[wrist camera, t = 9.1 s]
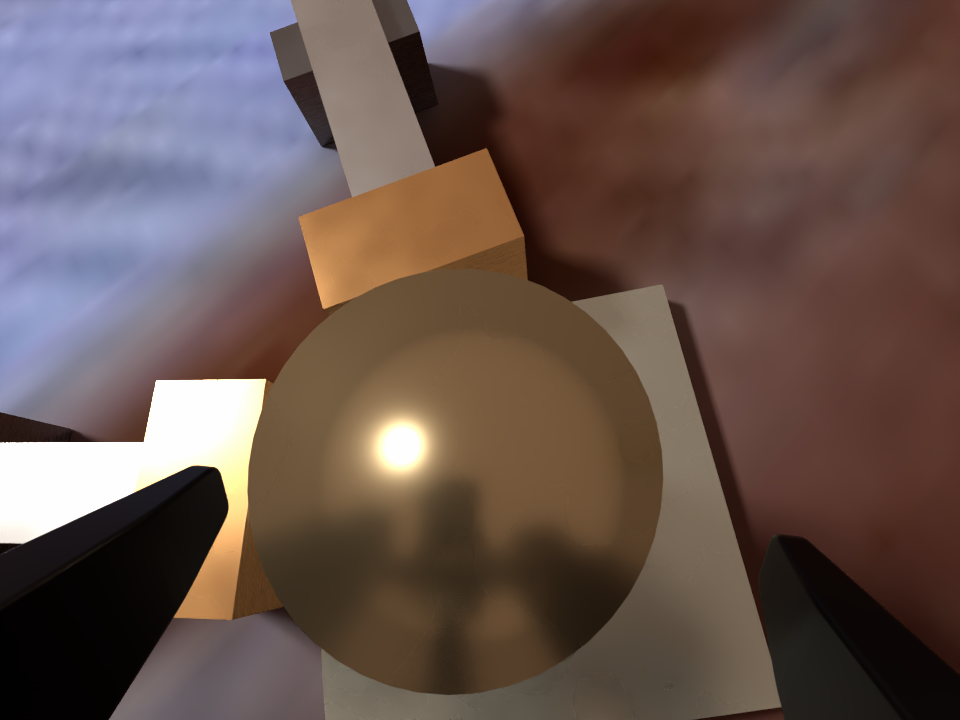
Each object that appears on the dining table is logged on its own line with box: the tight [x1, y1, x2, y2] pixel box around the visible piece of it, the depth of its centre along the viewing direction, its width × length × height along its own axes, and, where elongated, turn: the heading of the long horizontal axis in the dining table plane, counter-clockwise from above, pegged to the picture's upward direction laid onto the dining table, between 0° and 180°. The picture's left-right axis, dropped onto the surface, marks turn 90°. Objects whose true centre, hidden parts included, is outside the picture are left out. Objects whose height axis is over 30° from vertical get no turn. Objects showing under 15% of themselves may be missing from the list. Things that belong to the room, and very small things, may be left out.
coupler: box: [247, 269, 663, 695], centre depth 11 cm, size 4×4×11 cm
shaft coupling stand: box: [0, 0, 781, 720], centre depth 17 cm, size 24×24×5 cm
